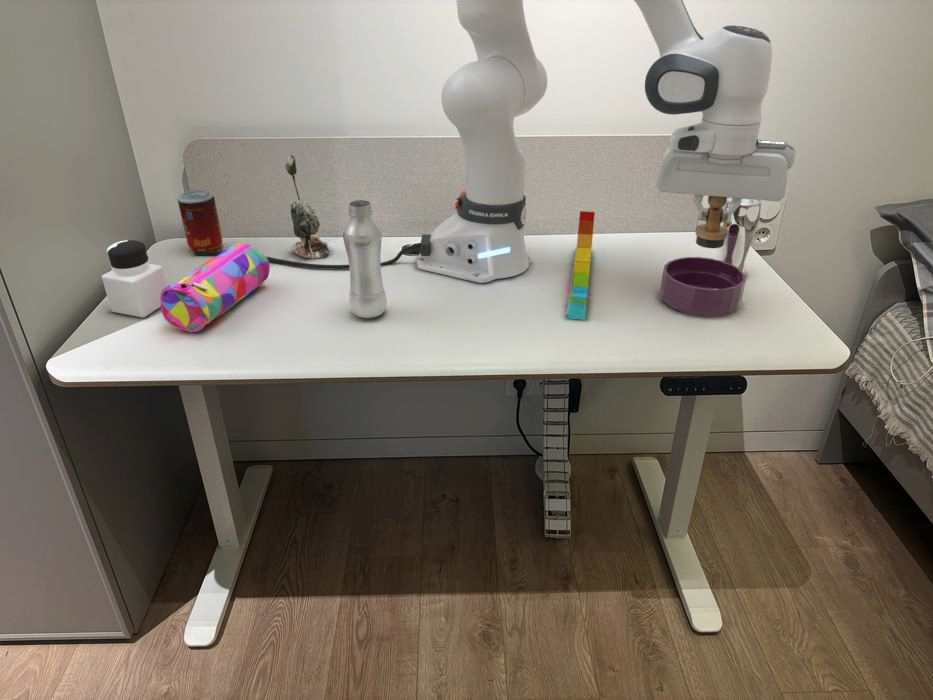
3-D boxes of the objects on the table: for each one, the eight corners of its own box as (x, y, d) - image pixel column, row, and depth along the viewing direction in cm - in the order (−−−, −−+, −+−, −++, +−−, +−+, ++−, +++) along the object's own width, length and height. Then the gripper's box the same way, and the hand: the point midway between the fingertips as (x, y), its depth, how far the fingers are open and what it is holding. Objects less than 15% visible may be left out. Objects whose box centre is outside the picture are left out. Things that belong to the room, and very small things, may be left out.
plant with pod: (285, 264, 141) (271, 166, 130) (297, 243, 150) (284, 150, 140) (325, 264, 141) (314, 166, 130) (334, 242, 150) (324, 149, 140)
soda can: (188, 246, 149) (176, 190, 143) (222, 241, 151) (212, 186, 145) (189, 258, 143) (177, 200, 137) (225, 253, 145) (214, 196, 139)
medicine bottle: (171, 301, 127) (156, 239, 120) (143, 318, 121) (126, 254, 115) (139, 295, 129) (123, 234, 122) (110, 312, 123) (92, 249, 117)
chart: (575, 251, 146) (581, 181, 138) (590, 252, 146) (597, 182, 138) (566, 318, 120) (572, 237, 113) (584, 320, 120) (592, 238, 112)
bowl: (656, 312, 123) (660, 283, 120) (662, 279, 134) (666, 253, 131) (740, 323, 119) (746, 294, 116) (739, 289, 130) (745, 262, 127)
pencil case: (208, 341, 114) (197, 291, 109) (160, 332, 116) (147, 284, 112) (276, 286, 132) (269, 241, 127) (233, 279, 134) (225, 235, 130)
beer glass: (749, 282, 133) (766, 206, 125) (711, 279, 134) (725, 203, 126) (744, 267, 139) (760, 194, 131) (707, 264, 140) (721, 192, 132)
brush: (694, 236, 123) (702, 185, 118) (725, 239, 122) (735, 187, 117) (693, 247, 119) (701, 194, 114) (725, 250, 117) (735, 197, 113)
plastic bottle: (358, 325, 118) (347, 213, 108) (345, 309, 124) (333, 200, 113) (393, 317, 121) (386, 206, 111) (379, 302, 126) (371, 194, 116)
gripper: (796, 137, 111) (777, 220, 118) (664, 129, 117) (654, 209, 124) (799, 147, 106) (780, 233, 113) (661, 138, 111) (651, 221, 118)
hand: (713, 220), depth 118 cm, fingers closed on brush, 2 cm apart
